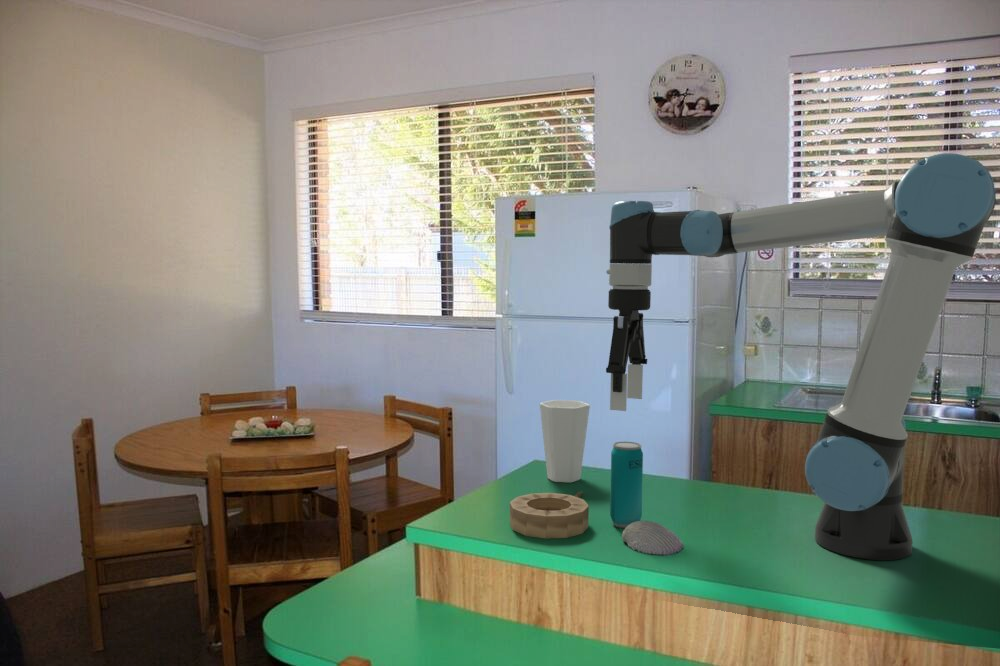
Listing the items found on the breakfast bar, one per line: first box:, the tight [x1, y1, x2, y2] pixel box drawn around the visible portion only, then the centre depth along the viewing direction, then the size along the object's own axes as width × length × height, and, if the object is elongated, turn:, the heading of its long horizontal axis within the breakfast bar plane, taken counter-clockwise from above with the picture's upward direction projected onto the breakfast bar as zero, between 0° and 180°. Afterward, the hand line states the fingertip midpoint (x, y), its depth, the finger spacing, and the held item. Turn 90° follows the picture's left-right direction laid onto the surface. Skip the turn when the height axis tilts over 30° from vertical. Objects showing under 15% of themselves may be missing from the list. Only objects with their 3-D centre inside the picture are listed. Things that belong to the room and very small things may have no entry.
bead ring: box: [509, 492, 590, 540], centre depth 142 cm, size 14×14×4 cm
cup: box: [539, 399, 591, 483], centre depth 173 cm, size 11×10×17 cm
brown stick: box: [573, 491, 583, 499], centre depth 155 cm, size 1×14×1 cm, turn 159°
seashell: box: [621, 520, 684, 556], centre depth 132 cm, size 10×6×10 cm
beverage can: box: [609, 441, 644, 529], centre depth 142 cm, size 6×6×15 cm
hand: (626, 404), depth 141 cm, fingers open, 13 cm apart
